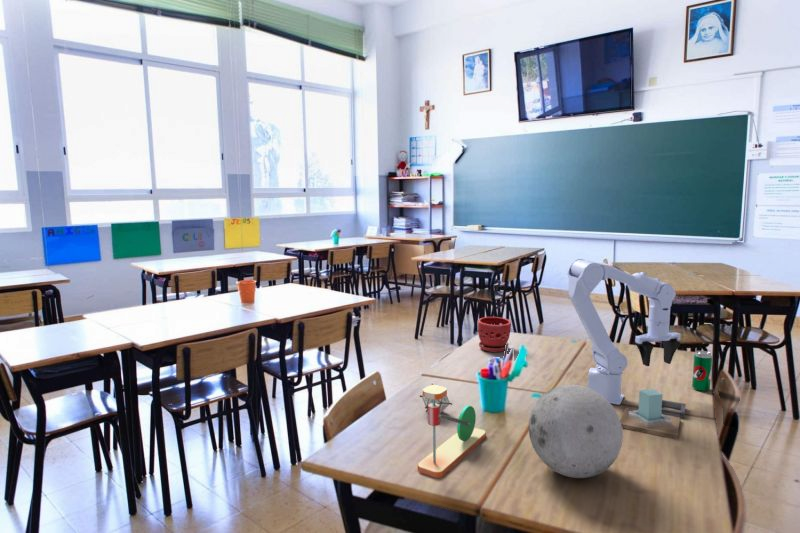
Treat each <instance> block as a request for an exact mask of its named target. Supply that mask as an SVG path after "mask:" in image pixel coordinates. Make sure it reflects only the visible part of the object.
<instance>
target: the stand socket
mask: <svg viewBox="0 0 800 533" xmlns="http://www.w3.org/2000/svg"><path fill="white" fill-rule="evenodd" d="M663 407H664V408H663ZM665 407H667V408H665ZM668 408H671V409H668ZM672 408H673V409H672ZM674 409H676V410H674ZM679 410H680V411H679ZM661 413H662V414H663V415H669V416H674V417H680V419H685V413H686V403H683V402H676V401H672V400H671V401H670V400H664V399H662V412H661Z"/></svg>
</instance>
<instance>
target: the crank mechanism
mask: <svg viewBox="0 0 800 533" xmlns="http://www.w3.org/2000/svg"><path fill="white" fill-rule="evenodd" d="M446 395H447V396H448V388H447V387H446V386H442V385H438V384H437V385H436V384H433V385H432V384H430V385H428V386H425V387H423V389H422V396H423V397H425V398H429V399H433V403H432V404H429V405H428V411H427V415H428V416H427V418H428V419H427V422H428V423H427V424H428V425H429V426H431V427H432V452H430V453H429V454H428V455H427V456H425V457H424V458H423V459H422V460H421V461H419V462H418V463H417V471H418V472H419V473H421V474H423V475H426V476H428V477H433V478H437V479H438V478H442V477H444V476H445V475H446V474H447V473H449V472H450V470H452V469H453V468H454V467H455V466H456V465H457V464H458V463H460V462H461V461H462V460H463V459H464V458H465V457H466V456H467V455H468V454H469V453H470V452H471V451H473V450H474V449H475V448H476V447H478V445H480V444H481V443H482V442H483V441H484V440H485V439H486V438H487V432H486V430H484V429H481V428H477V427H476V426H475V425H476V422H477V421H476V416H477V415H476V410H475V408H474V407H473V406H472V405H466V406H465V407H463V409H462V410H461V412H460V413H459V416H458V418H455V417H453V416H452V417H451V416H448V415H445V414H442V413H440V405H439V404H436V403H435V400H439V399H441V398H443V397H445V396H446ZM441 419H443V420H446V421H449V422H452V423H457V426H456V431H457V432H456V433H454V434H453V435H451V436H450V437H449V438H448V439H447V440H445V441H444V442H443V443H441V444H440V445H439V446H438V447H436V444H437V443H436V442H437V441H436V439H437V438H436V427H437V426H439V425H441Z"/></svg>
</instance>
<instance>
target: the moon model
mask: <svg viewBox="0 0 800 533" xmlns="http://www.w3.org/2000/svg"><path fill="white" fill-rule="evenodd" d="M620 419H621V418H620V417H619V414H618V413H617V410H616V409H615V408H614V406H613V404H612V403H609V401H608V400H607V399H606V398H604V397H603V396H602V395H601V394H599V393H597V392H596V391H594V390H592V389H590V388H588V386H583V385H576V384H564V385H559V386H556V387H554V388H552V389H550V390H548V391H547V392H545V393H543V394H542V395H541V396H540V397H539V399H538V400H537V401H536V402H535V404H534V405H533V407H532V410H531V412H530V416H529V420H528V435H529V439H530V443H531V446H532V448H533V449H534V452H535V453H536V455H537V456H538V458H539V459H540V460H541V461H542V463H544V465H545V466H547V467H548V468H550V470H552V471H554V472H556V473H558V474H560V475H561V476H565V477H568V478H574V479H586V478H592V477H596V476H597V475H600V474H602V473H603V472H605V471H606V470H608V469H609V468H610V467H611V466H612V465H613V464H614V462H615V461H616V460H617V458H618V456H619V454H620V452H621V449H622V446H623V438H624V436H623V428H622V426H621V422H620Z"/></svg>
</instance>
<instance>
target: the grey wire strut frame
mask: <svg viewBox="0 0 800 533" xmlns="http://www.w3.org/2000/svg"><path fill="white" fill-rule="evenodd" d="M431 385H434V384H433V383H431ZM419 398H421V399H422V402H423V403H424V409H426V410H425V413H428V405H429V404H432V403H433V399H429V398H425V397H423V394H422V395H421V394H420V395H419ZM435 403H436V404H439V405H440V414H442V412H443V411H444V410H445V409H446V408H448V406H449V405H450V406H452V405H453V403H452V402H450V400H449V398H448V394H447V395H446V396H445V397H443V398H441V399H439V400H435Z"/></svg>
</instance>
